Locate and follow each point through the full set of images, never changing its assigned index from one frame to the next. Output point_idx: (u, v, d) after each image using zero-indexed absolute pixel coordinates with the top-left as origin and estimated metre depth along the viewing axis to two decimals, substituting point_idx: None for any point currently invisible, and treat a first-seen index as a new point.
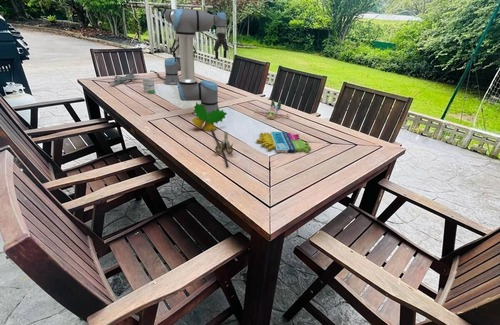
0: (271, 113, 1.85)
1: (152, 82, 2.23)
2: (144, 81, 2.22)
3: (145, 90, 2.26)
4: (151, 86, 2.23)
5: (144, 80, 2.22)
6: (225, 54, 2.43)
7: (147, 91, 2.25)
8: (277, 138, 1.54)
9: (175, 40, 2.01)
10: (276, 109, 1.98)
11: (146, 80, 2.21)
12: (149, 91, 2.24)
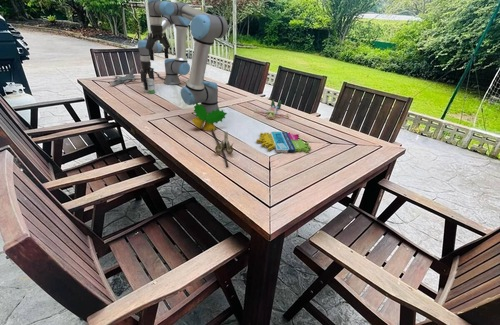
0: (271, 113, 1.85)
1: (152, 82, 2.23)
2: None
3: (145, 90, 2.26)
4: (151, 86, 2.23)
5: None
6: None
7: (147, 91, 2.25)
8: (277, 138, 1.54)
9: (152, 34, 1.68)
10: (276, 109, 1.98)
11: (146, 80, 2.21)
12: (149, 91, 2.24)
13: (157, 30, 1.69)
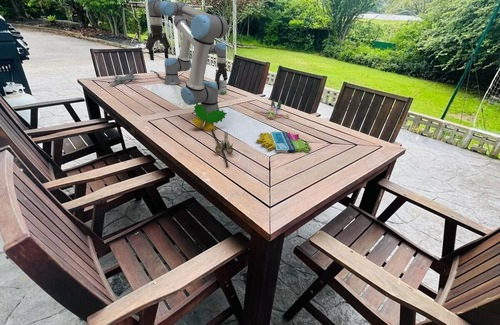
0: (271, 113, 1.85)
1: (225, 84, 2.34)
2: None
3: (218, 91, 2.37)
4: (224, 88, 2.34)
5: None
6: None
7: (220, 92, 2.37)
8: (277, 138, 1.54)
9: (152, 34, 1.68)
10: (276, 109, 1.98)
11: (220, 82, 2.32)
12: (222, 92, 2.36)
13: (157, 30, 1.69)
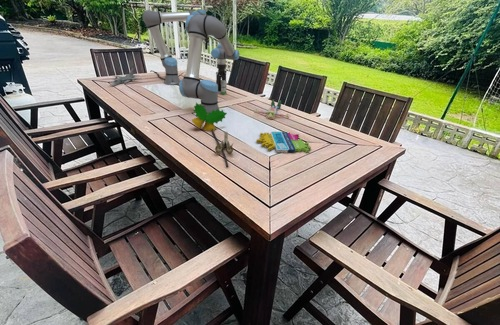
0: (271, 113, 1.85)
1: (225, 84, 2.34)
2: None
3: (218, 91, 2.37)
4: (224, 88, 2.34)
5: None
6: (206, 46, 2.75)
7: (220, 92, 2.37)
8: (277, 138, 1.54)
9: (219, 73, 2.25)
10: (276, 109, 1.98)
11: None
12: (222, 92, 2.36)
13: (222, 68, 2.25)
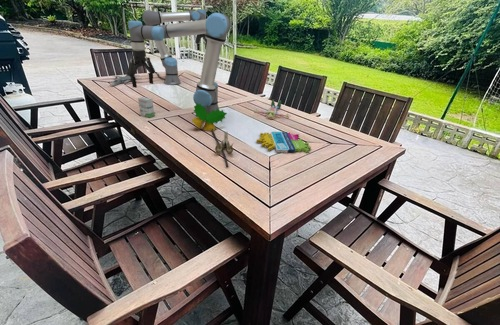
0: (271, 113, 1.85)
1: (151, 103, 1.73)
2: (141, 102, 1.72)
3: (142, 113, 1.76)
4: (149, 109, 1.73)
5: (140, 101, 1.72)
6: None
7: (144, 114, 1.75)
8: (277, 138, 1.54)
9: (133, 60, 1.55)
10: (276, 109, 1.98)
11: (143, 101, 1.71)
12: (147, 114, 1.74)
13: (139, 56, 1.56)
